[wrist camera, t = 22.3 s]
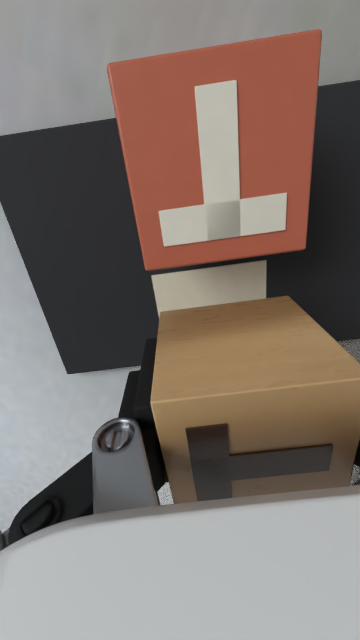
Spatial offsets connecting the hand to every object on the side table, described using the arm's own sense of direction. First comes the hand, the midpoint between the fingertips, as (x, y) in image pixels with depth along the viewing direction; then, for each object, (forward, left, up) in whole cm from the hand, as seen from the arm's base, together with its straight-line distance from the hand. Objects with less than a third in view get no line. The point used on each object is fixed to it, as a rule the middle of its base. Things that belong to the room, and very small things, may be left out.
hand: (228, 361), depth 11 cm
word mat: (0, +3, -5) cm, 6 cm away
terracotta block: (0, +7, -4) cm, 8 cm away
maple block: (0, 0, 0) cm, 0 cm away
